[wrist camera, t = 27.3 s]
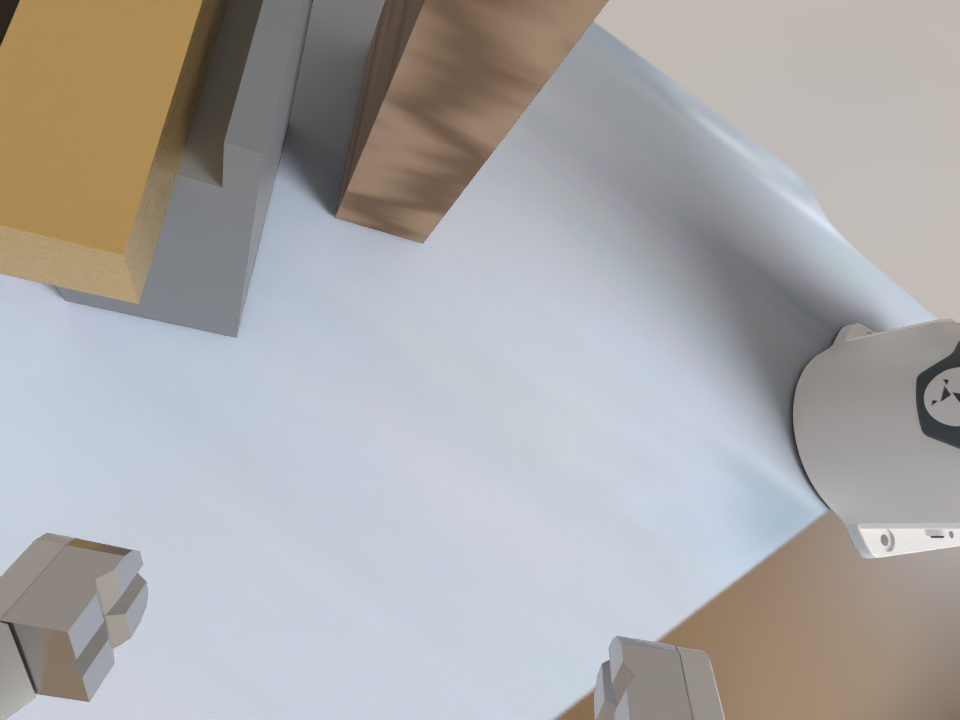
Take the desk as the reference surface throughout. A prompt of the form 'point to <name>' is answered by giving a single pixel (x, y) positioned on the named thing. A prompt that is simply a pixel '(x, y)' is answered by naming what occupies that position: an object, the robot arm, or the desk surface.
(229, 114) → the cradle
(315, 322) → the desk surface
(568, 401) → the desk surface
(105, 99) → the wooden block
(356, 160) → the stand
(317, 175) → the desk surface
